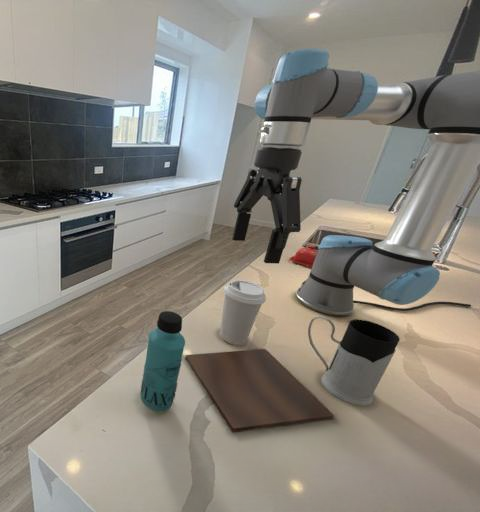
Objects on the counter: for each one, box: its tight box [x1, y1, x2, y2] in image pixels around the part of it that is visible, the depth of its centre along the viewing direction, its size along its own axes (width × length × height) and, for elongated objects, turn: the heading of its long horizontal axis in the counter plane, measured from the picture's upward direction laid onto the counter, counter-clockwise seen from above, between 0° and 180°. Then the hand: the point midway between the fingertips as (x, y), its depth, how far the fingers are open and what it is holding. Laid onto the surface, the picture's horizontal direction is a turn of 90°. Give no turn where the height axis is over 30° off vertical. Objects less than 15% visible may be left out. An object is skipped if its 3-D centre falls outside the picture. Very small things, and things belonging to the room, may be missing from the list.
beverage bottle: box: [139, 310, 186, 412], centre depth 54 cm, size 6×7×20 cm
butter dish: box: [288, 244, 318, 268], centre depth 129 cm, size 12×12×8 cm
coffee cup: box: [219, 279, 267, 346], centre depth 76 cm, size 10×10×15 cm
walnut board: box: [184, 348, 335, 433], centre depth 63 cm, size 21×19×1 cm
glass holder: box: [307, 315, 401, 407], centre depth 63 cm, size 9×14×15 cm, turn 39°
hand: (253, 250), depth 65 cm, fingers open, 13 cm apart
